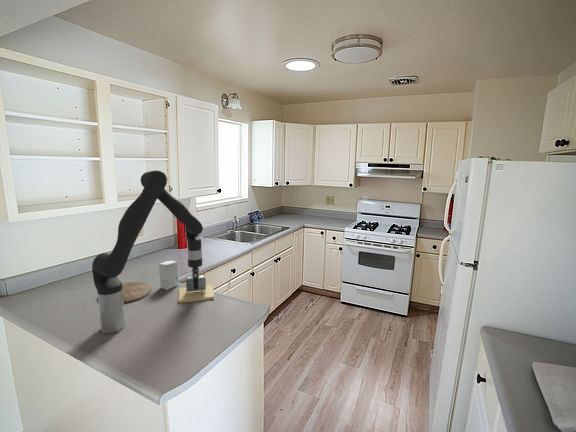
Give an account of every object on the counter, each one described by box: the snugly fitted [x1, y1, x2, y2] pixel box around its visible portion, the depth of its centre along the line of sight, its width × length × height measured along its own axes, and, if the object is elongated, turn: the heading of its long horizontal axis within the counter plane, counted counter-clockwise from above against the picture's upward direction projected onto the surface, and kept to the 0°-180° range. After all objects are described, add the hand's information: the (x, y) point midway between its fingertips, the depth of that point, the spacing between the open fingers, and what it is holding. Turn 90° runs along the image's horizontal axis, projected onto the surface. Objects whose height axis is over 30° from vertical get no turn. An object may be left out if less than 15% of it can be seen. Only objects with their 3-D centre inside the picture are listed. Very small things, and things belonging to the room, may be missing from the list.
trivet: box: [122, 281, 152, 305], centre depth 165 cm, size 25×25×2 cm
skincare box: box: [158, 260, 179, 291], centre depth 174 cm, size 8×6×15 cm
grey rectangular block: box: [185, 274, 207, 292], centre depth 164 cm, size 4×10×7 cm, turn 107°
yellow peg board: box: [177, 284, 215, 304], centre depth 165 cm, size 16×18×4 cm
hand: (196, 287), depth 165 cm, fingers closed on grey rectangular block, 4 cm apart
